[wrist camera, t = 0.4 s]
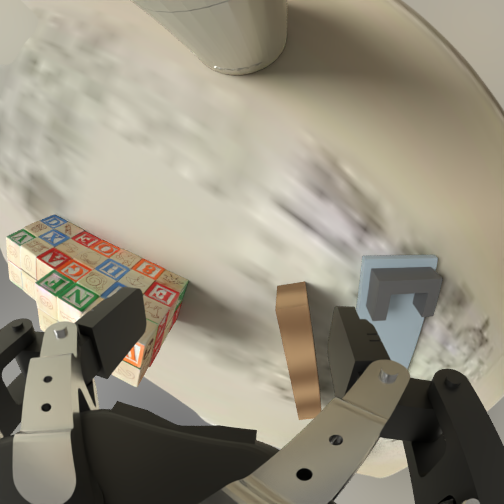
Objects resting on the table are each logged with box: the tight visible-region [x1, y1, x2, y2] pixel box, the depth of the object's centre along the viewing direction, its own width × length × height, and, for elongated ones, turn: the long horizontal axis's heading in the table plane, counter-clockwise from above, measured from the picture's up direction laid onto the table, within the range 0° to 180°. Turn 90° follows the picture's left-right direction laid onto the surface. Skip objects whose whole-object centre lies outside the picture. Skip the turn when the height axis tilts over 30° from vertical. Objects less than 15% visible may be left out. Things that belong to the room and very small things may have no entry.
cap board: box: [356, 255, 443, 369], centre depth 29 cm, size 24×9×4 cm, turn 3°
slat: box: [275, 282, 321, 420], centre depth 30 cm, size 18×3×5 cm, turn 13°
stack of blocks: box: [7, 215, 188, 387], centre depth 26 cm, size 21×6×12 cm, turn 68°
